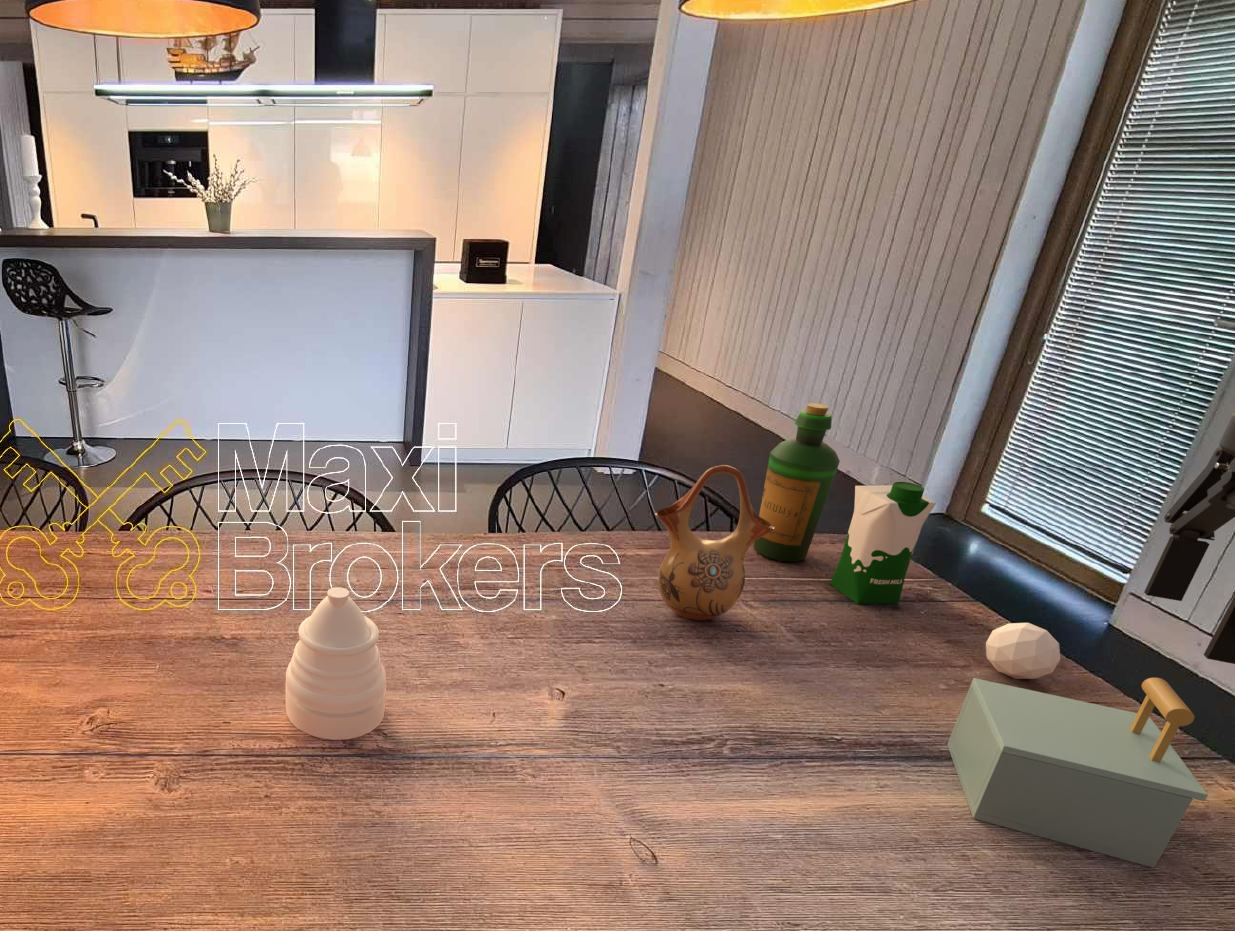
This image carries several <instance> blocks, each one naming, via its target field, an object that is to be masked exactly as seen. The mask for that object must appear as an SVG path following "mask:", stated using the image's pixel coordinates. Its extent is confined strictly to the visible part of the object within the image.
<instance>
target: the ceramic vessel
mask: <svg viewBox="0 0 1235 931" xmlns="http://www.w3.org/2000/svg"><path fill="white" fill-rule="evenodd" d="M717 474H728V475H731V476H733V477H734V479H735V481H736V483H737V484H736V485H737V488H738V493H739V503H740V506H739V519H738V522H737V526H736V527H735V529H734V530H733V532H732V533H730V534H729V535H728V536H725V537H723V538H721V539H705V538H704V539H703V538H699V537H698V536H696V534H694V533H693V532H692V530H691V528H690V526H689V521H690V516H691V512H692V509H693V506H694V505H695V502H696V500H697V498H698V496H699V495H700V493H701V491H702V489H703V488H704V486H705V485H706V483H707V482H708V481H709V480H710V479H711V478H712V477H713V476H714V475H717ZM749 495H750V494H749V491H748V486H747V482H746V477H745V476H744V474H743V473H742V471H740V470H739V469H738V468H736V467H733V466H731V465H728V464H721V465H716V466H712V467H710V468H708V469H707V470H706V471H704V472H703V473H702V474H701V475H700V476H699V478H698V479H697V481H696V482H695V483H694V485H693V486H692V487H691V488H690V489H689V490H688V492H686V493H685V494H684V495H683V496H682V497H680V498H679V499H678V500H676V501H675V502H673V504H671V505H668V506H665V507H662V508H660V509H658V510H656V511H655V513H654V515H655V517H656V518H657V519H658V520H659V521H660V522H661V523H662V525H663V526H664V527H665V529H666V530H667V532H668V535H669V539H670V545H669V549H668V552H667V553H666V554H665V556H664V558H662V561H661V562H660V563H661V564H660V565H659V568H658V574H657V585H658V586H657V587H658V591H659V594H660V596H661V599H662V600H663V601H664V603H665V604H666V606H667V607H668V609H671V611H672V612H674V614H676V615H677V616H680V617H682V618H684V619H688V620H693V621H708V620H712V619H714V618H717V617H720V616H722V615H723V614H725V613H727V612H728V611H729V610H731V609H732V608H733V607H734V606H735V605H736V603H737V602H738V601H739V599H740V597H741V596H742V594H743V591H744V589H745V588H744V587H745V584H746V571H745V566H744V563H745V562H744V561H745V557H746V553H747V551H748V550H749V548H750V547H751V545H753V544H754V542H755V541H756V540H757V539H759V538H760V537H762V536H763V535H765V534H767V533H769V532H771V531H772V530H774V527H773V526H772V525H771V524H770V523H769V522H767V521H766V520H764V519H763V518H761V517H759V515H758V514H757V513H756V510H755V509H754V507H753V505H752V503H751V499H750V496H749Z"/></svg>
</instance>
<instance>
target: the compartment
mask: <svg viewBox="0 0 1235 931" xmlns="http://www.w3.org/2000/svg"><path fill="white" fill-rule="evenodd" d="M946 745H947V748H948V751H949V753H950V757H951V760H952V762H953V765H954V768H955V771H956V774H957V776H958V779H959V782H960V785H961V789H962V791H963V794H964V796H965V799H966V802H967V805H968V808H969V811H970V813H971V816H972V819H975V820H978V821H981V822H985V823H989V824H992V825H996V826H999V827H1002V828H1007V829H1011V830H1015V831H1018V832H1022V833H1025V834H1029V835H1031V836H1032V835H1033V836H1036V837H1039V838H1043V839H1047V840H1051V841H1054V842H1058V843H1061V844H1065V845H1069V846H1071V847H1076V848H1080V849H1083V850H1087V851H1091V852H1095V853H1098V854H1101V855H1106V856H1109V857H1113V858H1116V859H1119V860H1123V861H1127V862H1130V863H1135V864H1138V865H1142V866H1145V867H1149V868H1153V869H1154V868H1155V867H1156V865H1157V864H1158V862H1159V861H1160V859H1161V857H1162V855H1163V853H1164V851H1165V850H1166V848H1167V846H1168V844H1169V843H1170V840H1172V837H1173V835H1174V834H1175V832H1176V830H1177V828H1178V827H1179V824H1181V821H1182V819H1183V818H1184V816H1185V814H1186V812H1187V810H1188V809H1189V807H1190V806H1191V803H1192V801H1193V798H1189V797H1185V796H1181V795H1177V794H1173V793H1169V792H1165V791H1161V790H1156V789H1152V788H1148V787H1144V786H1140V785H1136V784H1132V783H1128V782H1124V781H1120V780H1115V779H1111V778H1107V777H1103V776H1099V775H1095V774H1091V773H1087V772H1083V771H1078V770H1074V769H1070V768H1066V767H1062V766H1058V765H1054V764H1050V763H1046V762H1042V761H1037V760H1033V759H1029V758H1025V757H1021V756H1017V755H1013V754H1009V753H1005V752H1002V751H1001V749H1000V747H999V745H998V742H997V740H996V738H995V736H994V733H993V731H992V729H991V726H990V724H989V722H988V720H987V717H986V715H985V713H984V711H983V708H982V706H981V704H980V702H979V699H978V697H977V695H976V693H975V690H974V688H973V686H972V684H970V685H969V688H968V691H967V693H966V696H965V698H964V701H963V702H962V706H961V708H960V711H959V714H958V715H957V719H956V721H955V723H954V726H953V728H952V730H951V734H950V735H949V739H948V741H947V744H946Z"/></svg>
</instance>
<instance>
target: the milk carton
mask: <svg viewBox="0 0 1235 931" xmlns="http://www.w3.org/2000/svg"><path fill="white" fill-rule="evenodd" d="M854 488H855V489H854V507H853V508H854V509H853V514H852V518H851V521H850V524H849V528H848V531H847V534H846V538H845V541H844V545H843V548H842V552H841V554H840V558H839V560H838V563H837V565H836V567H835V570H834V571H833V575H832V576H831V579H830V581H829V585H830V586H832V587H833V588H834V589H835V590H837V591H839V592H840V594H841V593H842V595H845V596H846V597H847V598H848V599H850V600H851V601H852V602H854V603H855V604H857V605H884V604H885V605H887V604H889V605H890V604H891V605H892V604H900V600H901V595H902V592H903V587H904V583H905V579H906V575H907V573H908V569H909V566H910V563H911V561H912V557H913V554H914V551H915V549H916V546H917V543H918V539H919V536H920V534H921V530H922V528H923V526H924V524H925V522H926V521H927V518H928V517H929V515H930V514H931V512H932V511H933V509H934V508H935V506H936V504H937V503H936V501H933V500H931V499H930V498H927V497H926V496H924V491H925V487H923V486H922V485H920V484H916V483H913V482H908V481H907V482H906V481H895V482H893V483H892V484H891V485H889V484H887V485H886V484H885V485H881V484H880V485H855V487H854Z"/></svg>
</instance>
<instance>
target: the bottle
mask: <svg viewBox="0 0 1235 931" xmlns="http://www.w3.org/2000/svg"><path fill="white" fill-rule="evenodd" d="M829 408H830V406H829V405H826V404H823V403H815V402H810V403H807V404H806V409H801V411H800V412H799V414H798V416H797V418H796V420H795V422H794V425H796V426H797V429H796V434H795V435H796V436H795V437H791V438H787V439H786V440H784V441H780V443H778V444H777V446H775V447H774V448H773V449H772V450H771V451H770V453H769V457H768V463H767V468H766V475H765V479H764V480H765V481H764V485H763V486H764V488H763V491H762V497H761V502H760V509H759V514H758V516H759V517H761V518H763V519H764V520H766V521H767V522H769V523H770V524H771V525H772V526H773V527H774V530H772V531H771V532H769V533H767V534H765V535H763V536H762V537H760V538H759V539H757V540H756V541H755V542H753V548H754V550H755V551H756V552H757V553H758V554H760V555H762V556H764V557H765V558H768V559H770V560H773V561H778V562H783V563H785V562H786V563H794V562H800V561H804V560H805V559H806V558H807V555H808V553H809V551H810V547H811V544H812V541H813V538H814V536H815V532H816V530H817V527H818V525H819V522H820V519H821V516H822V513H823V510H824V508H825V505H826V502H827V499H828V496H829V493H830V490H831V487H832V484H833V482H834V480H835V476H836V474H837V471H838V468H839V465H840V463H841V460H840V458H839V456H838V454H837V452H836V450H834V449H833V448H832V447H831V446H829V444H827V443H826V442H825V441H823V440H824V438H825V436H826V432H827V431H829V430H832V422H833V421H832V420H833V419H832V418H833V414H831V413H830V412H828V411H829Z"/></svg>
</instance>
